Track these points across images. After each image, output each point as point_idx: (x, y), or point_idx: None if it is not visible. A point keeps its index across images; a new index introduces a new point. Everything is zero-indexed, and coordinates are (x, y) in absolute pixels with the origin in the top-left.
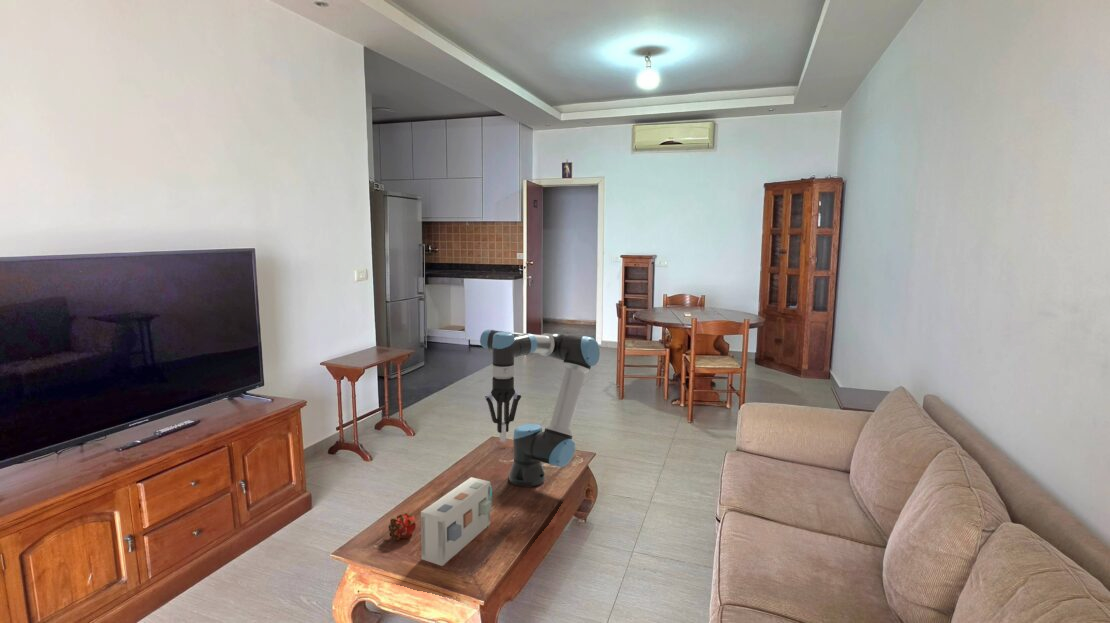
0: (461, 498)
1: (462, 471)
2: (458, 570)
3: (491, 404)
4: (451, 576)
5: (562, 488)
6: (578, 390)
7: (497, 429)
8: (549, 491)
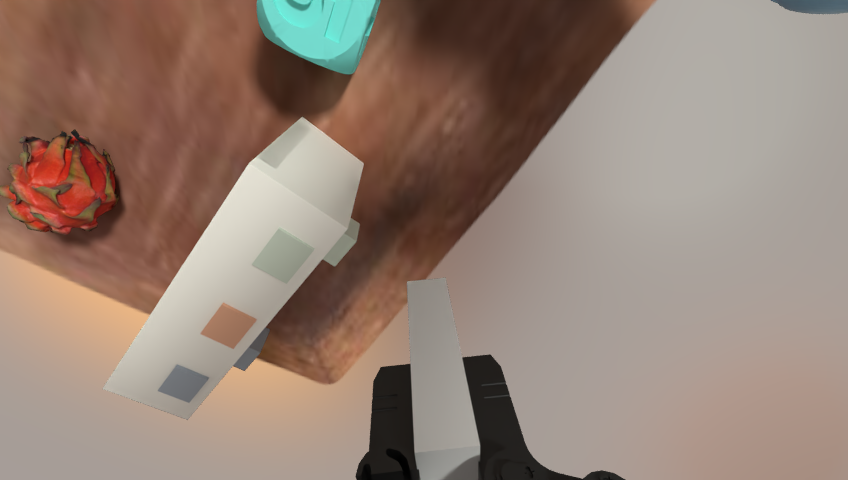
0: (231, 343)
1: None
2: (283, 330)
3: None
4: (270, 344)
5: None
6: None
7: (374, 398)
8: None
